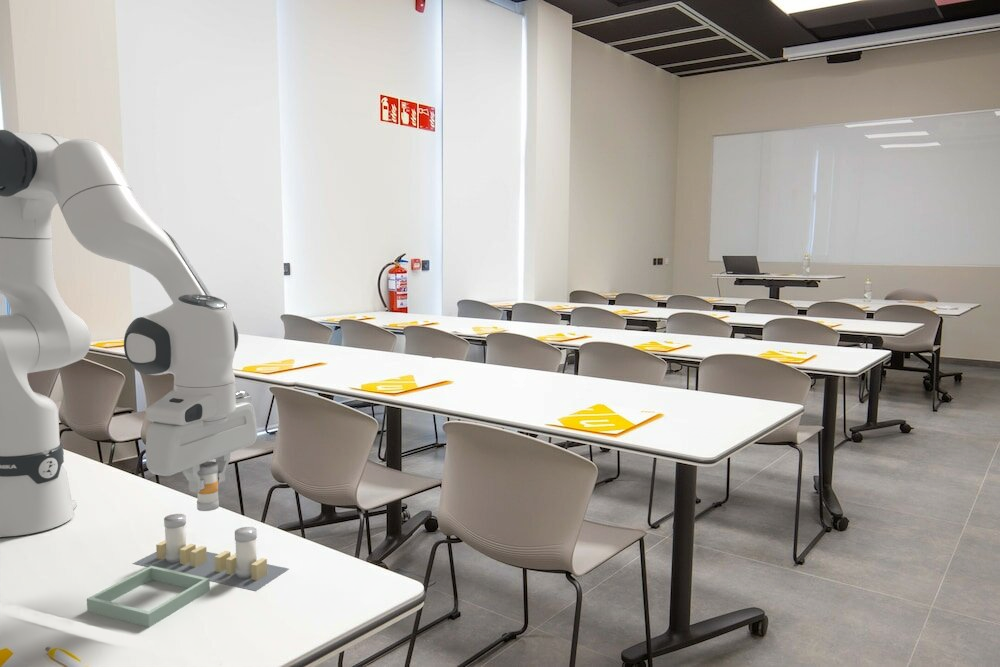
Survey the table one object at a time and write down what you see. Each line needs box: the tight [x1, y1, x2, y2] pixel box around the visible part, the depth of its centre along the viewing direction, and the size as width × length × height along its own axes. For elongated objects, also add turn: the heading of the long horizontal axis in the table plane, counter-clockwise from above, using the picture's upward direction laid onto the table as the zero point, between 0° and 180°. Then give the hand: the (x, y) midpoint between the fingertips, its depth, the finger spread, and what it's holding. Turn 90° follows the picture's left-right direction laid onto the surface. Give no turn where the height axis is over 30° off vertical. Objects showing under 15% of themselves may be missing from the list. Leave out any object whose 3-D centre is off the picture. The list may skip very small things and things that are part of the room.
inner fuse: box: [163, 513, 187, 563], centre depth 116 cm, size 3×3×7 cm
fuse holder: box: [132, 540, 290, 592], centre depth 114 cm, size 24×8×4 cm, turn 70°
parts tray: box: [86, 566, 211, 628], centre depth 103 cm, size 11×11×3 cm
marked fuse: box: [196, 460, 220, 512], centre depth 113 cm, size 3×3×7 cm
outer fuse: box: [234, 526, 258, 578], centre depth 112 cm, size 3×3×7 cm
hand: (207, 486), depth 113 cm, fingers closed on marked fuse, 3 cm apart
